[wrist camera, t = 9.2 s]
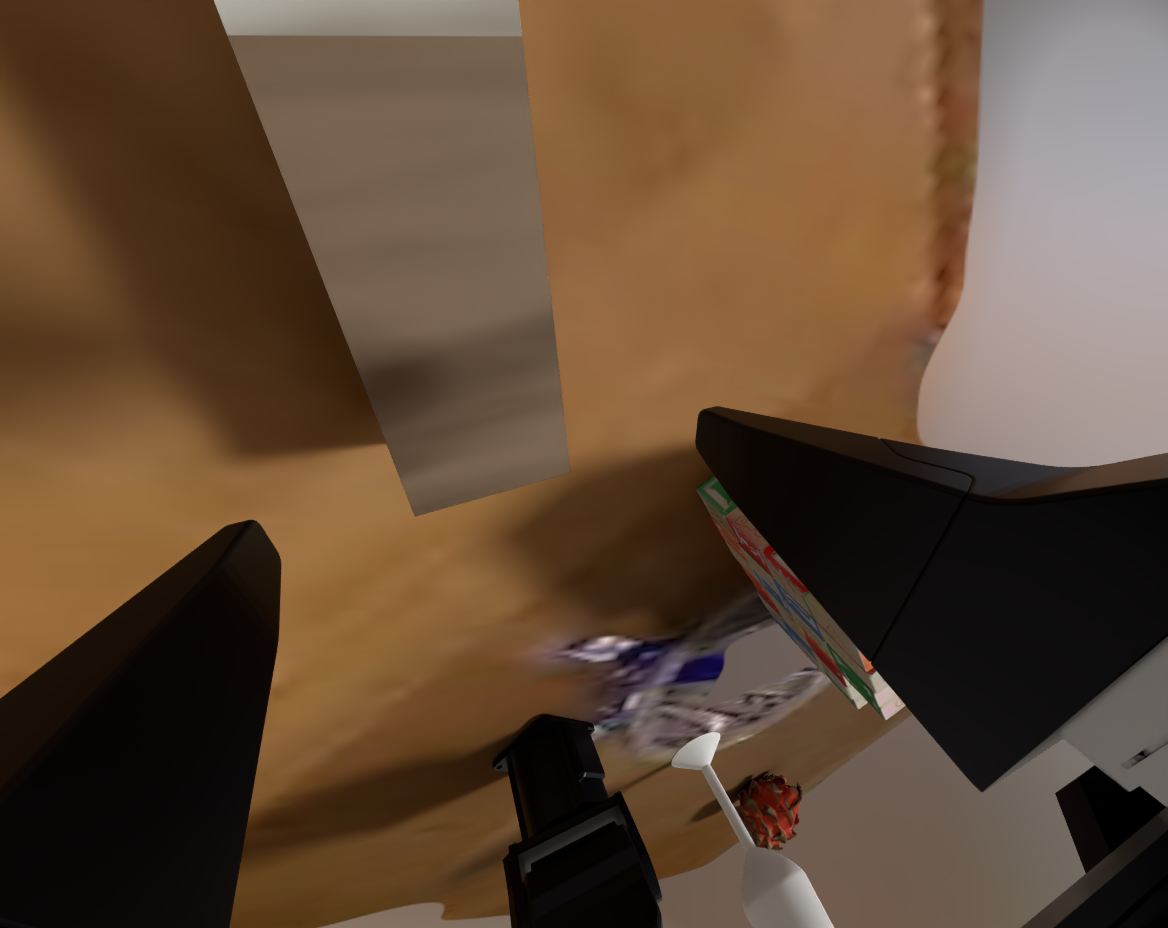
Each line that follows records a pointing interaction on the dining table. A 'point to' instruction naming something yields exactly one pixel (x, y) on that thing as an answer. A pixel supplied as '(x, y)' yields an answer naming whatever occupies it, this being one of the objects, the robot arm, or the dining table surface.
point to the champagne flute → (759, 859)
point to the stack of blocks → (798, 608)
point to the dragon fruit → (770, 811)
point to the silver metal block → (420, 223)
